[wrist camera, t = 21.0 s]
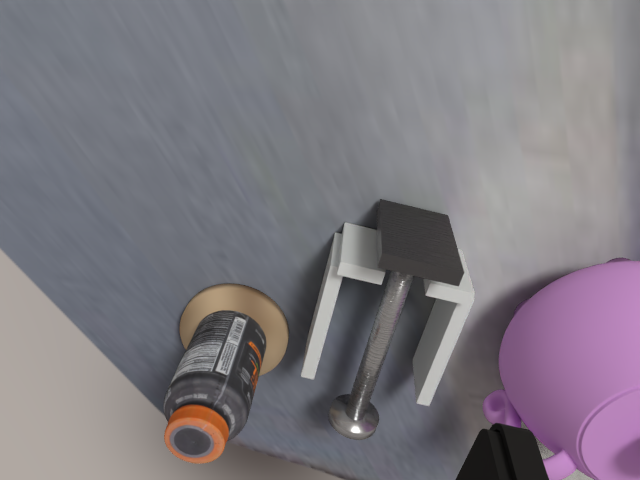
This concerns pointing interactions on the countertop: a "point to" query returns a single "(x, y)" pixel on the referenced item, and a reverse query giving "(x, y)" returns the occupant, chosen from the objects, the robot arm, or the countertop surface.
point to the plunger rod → (396, 299)
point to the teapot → (577, 372)
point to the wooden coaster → (243, 302)
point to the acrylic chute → (361, 263)
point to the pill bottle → (213, 386)
